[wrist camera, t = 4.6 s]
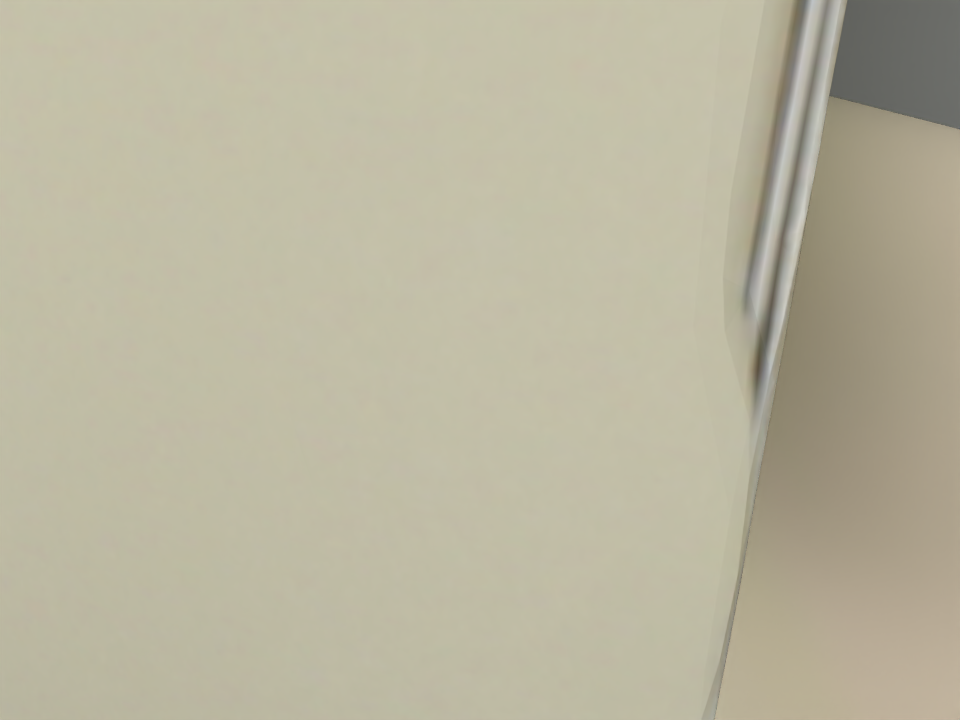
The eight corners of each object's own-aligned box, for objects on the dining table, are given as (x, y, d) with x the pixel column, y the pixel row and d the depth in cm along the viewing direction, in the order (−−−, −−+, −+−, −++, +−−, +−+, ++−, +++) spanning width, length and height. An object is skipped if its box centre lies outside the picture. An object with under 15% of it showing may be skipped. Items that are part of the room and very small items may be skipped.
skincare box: (499, 21, 15) (-379, -578, 3) (779, 45, 14) (1013, -712, 2) (454, 406, 16) (-264, 972, 5) (706, 453, 15) (605, 1342, 4)
